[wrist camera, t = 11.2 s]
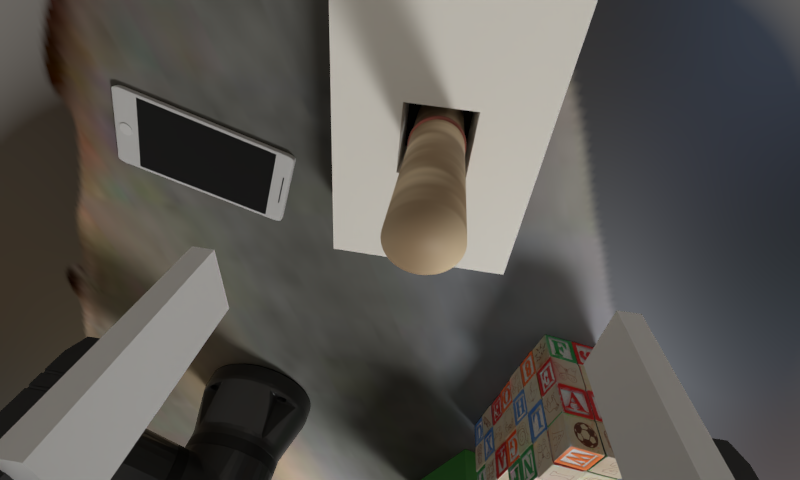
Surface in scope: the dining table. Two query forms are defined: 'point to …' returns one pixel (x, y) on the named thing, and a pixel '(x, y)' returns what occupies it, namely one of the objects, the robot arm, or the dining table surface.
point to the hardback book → (456, 468)
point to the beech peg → (429, 196)
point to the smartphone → (201, 153)
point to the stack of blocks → (546, 421)
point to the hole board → (448, 105)
